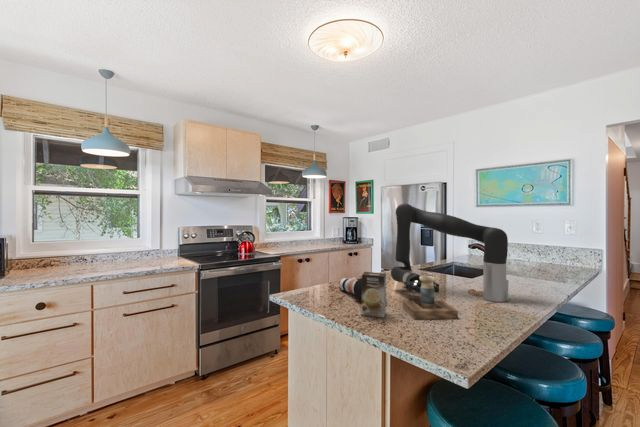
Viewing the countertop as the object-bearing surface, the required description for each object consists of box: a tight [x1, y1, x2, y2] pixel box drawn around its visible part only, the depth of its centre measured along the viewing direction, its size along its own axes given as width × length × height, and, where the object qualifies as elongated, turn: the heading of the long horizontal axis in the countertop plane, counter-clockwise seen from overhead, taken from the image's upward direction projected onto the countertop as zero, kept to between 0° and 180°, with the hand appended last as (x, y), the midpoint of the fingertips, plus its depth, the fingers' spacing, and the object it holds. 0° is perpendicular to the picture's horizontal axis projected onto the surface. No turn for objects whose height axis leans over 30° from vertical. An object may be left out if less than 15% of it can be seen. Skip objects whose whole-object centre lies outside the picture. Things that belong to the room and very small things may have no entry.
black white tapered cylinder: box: [337, 277, 362, 301], centre depth 146 cm, size 10×34×10 cm, turn 20°
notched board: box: [402, 300, 459, 320], centre depth 121 cm, size 17×13×3 cm
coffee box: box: [360, 271, 387, 318], centre depth 120 cm, size 9×6×16 cm
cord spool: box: [419, 275, 437, 309], centre depth 122 cm, size 6×6×14 cm
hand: (428, 290), depth 121 cm, fingers open, 7 cm apart
